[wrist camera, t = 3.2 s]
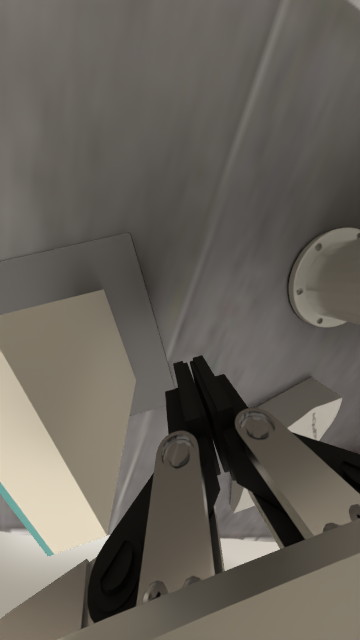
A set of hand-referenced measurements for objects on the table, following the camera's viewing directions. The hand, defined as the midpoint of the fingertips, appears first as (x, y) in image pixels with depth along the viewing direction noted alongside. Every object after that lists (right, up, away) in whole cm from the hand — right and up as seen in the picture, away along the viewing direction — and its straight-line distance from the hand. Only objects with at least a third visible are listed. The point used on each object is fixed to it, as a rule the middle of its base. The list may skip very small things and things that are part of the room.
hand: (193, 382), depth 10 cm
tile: (-9, +1, +11) cm, 15 cm away
